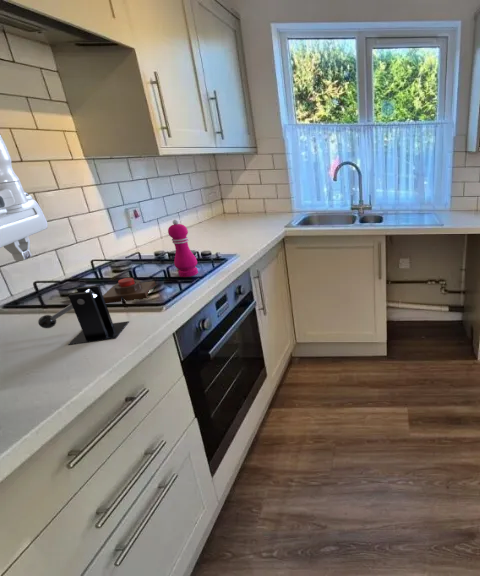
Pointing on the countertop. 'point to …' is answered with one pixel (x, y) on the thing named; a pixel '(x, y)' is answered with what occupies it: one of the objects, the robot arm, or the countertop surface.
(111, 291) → the button block
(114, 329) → the bracket
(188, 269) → the pepper mill
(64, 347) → the countertop surface
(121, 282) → the button
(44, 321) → the lever
